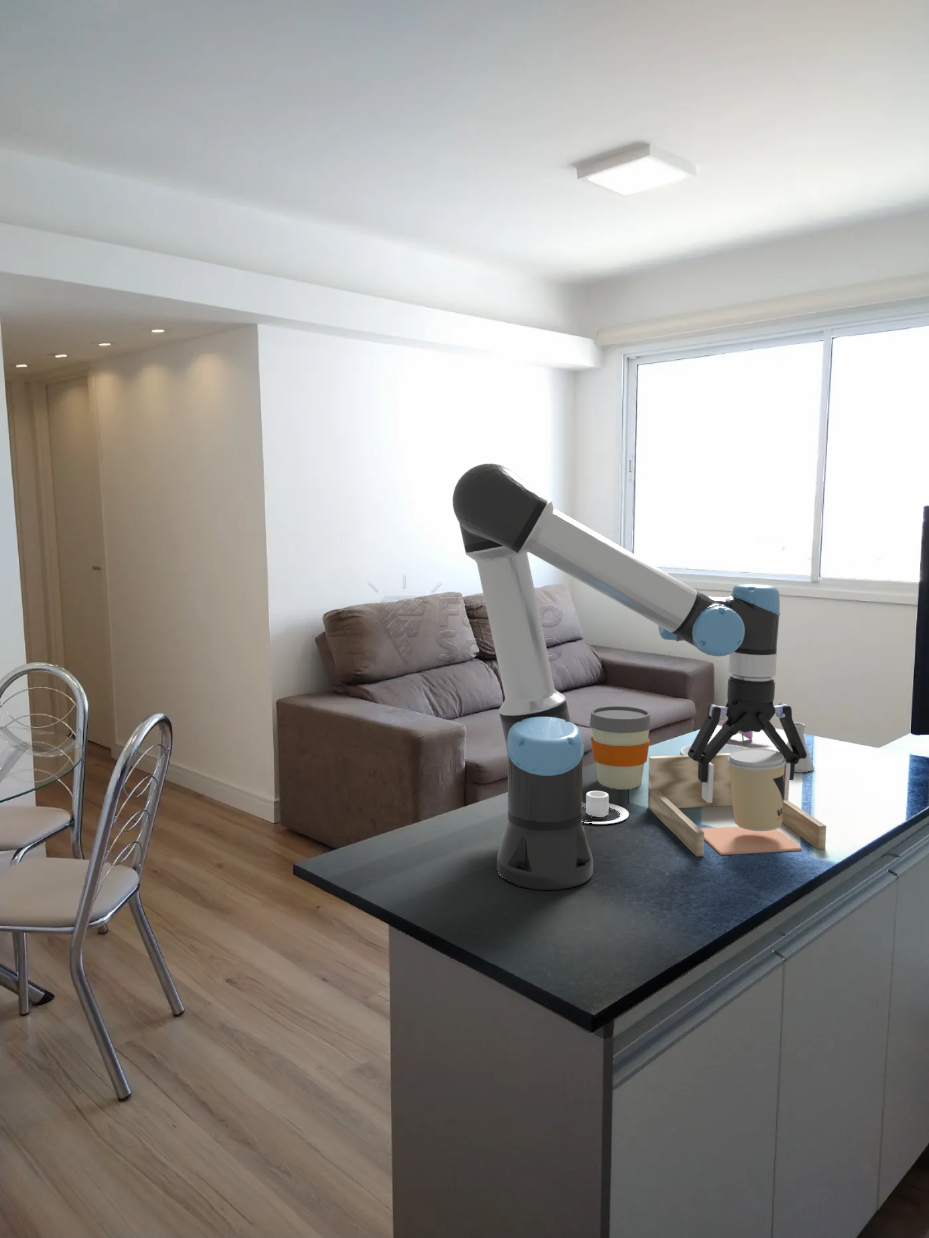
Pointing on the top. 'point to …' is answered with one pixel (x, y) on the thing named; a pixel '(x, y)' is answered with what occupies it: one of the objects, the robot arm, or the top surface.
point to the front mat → (747, 841)
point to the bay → (682, 789)
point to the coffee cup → (757, 788)
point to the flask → (806, 763)
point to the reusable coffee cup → (620, 745)
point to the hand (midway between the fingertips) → (744, 799)
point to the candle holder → (602, 807)
